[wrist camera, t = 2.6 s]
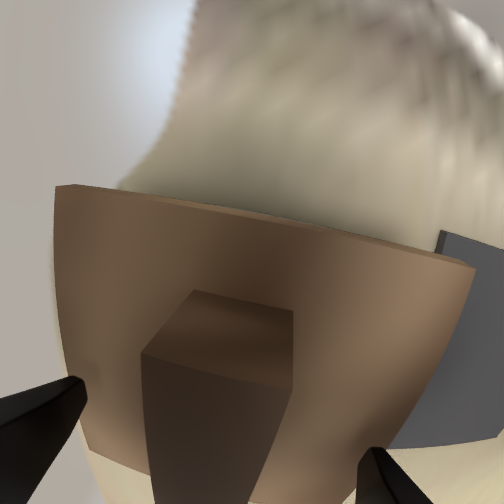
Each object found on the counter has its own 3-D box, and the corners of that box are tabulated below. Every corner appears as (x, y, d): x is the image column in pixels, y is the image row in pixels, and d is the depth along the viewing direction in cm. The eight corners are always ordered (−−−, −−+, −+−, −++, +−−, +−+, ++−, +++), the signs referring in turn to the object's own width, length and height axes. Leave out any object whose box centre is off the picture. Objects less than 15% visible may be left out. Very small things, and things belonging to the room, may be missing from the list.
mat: (571, 276, 10) (577, 279, 10) (493, 432, 14) (496, 437, 13) (441, 230, 11) (447, 232, 11) (352, 441, 15) (353, 448, 14)
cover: (459, 259, 7) (545, 313, 3) (335, 493, 10) (338, 558, 6) (75, 184, 8) (-24, 197, 4) (98, 436, 11) (61, 489, 7)
